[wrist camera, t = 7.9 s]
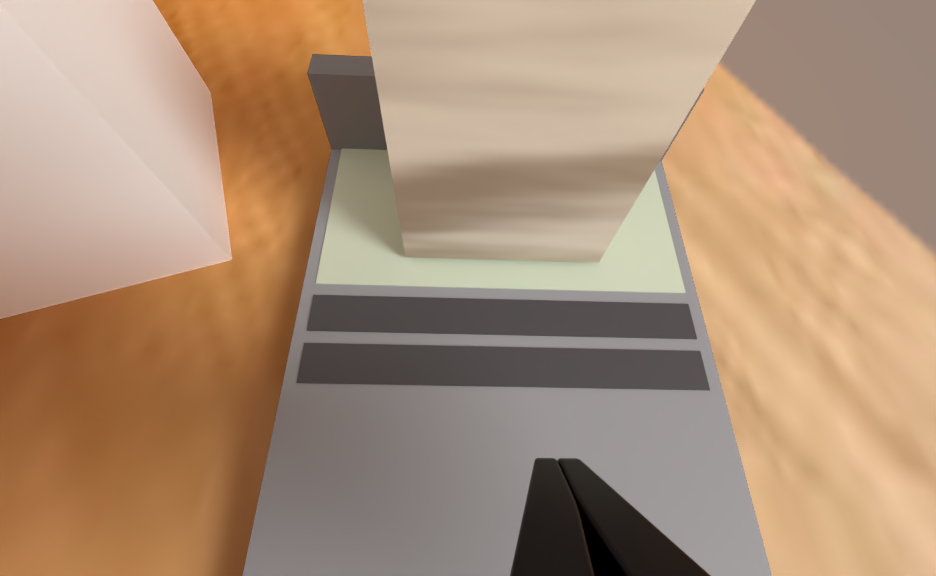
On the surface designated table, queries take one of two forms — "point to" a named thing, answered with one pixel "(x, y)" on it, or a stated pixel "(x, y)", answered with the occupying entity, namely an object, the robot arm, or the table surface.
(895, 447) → the table surface
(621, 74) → the maple block
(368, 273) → the grey piece
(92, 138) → the milk
